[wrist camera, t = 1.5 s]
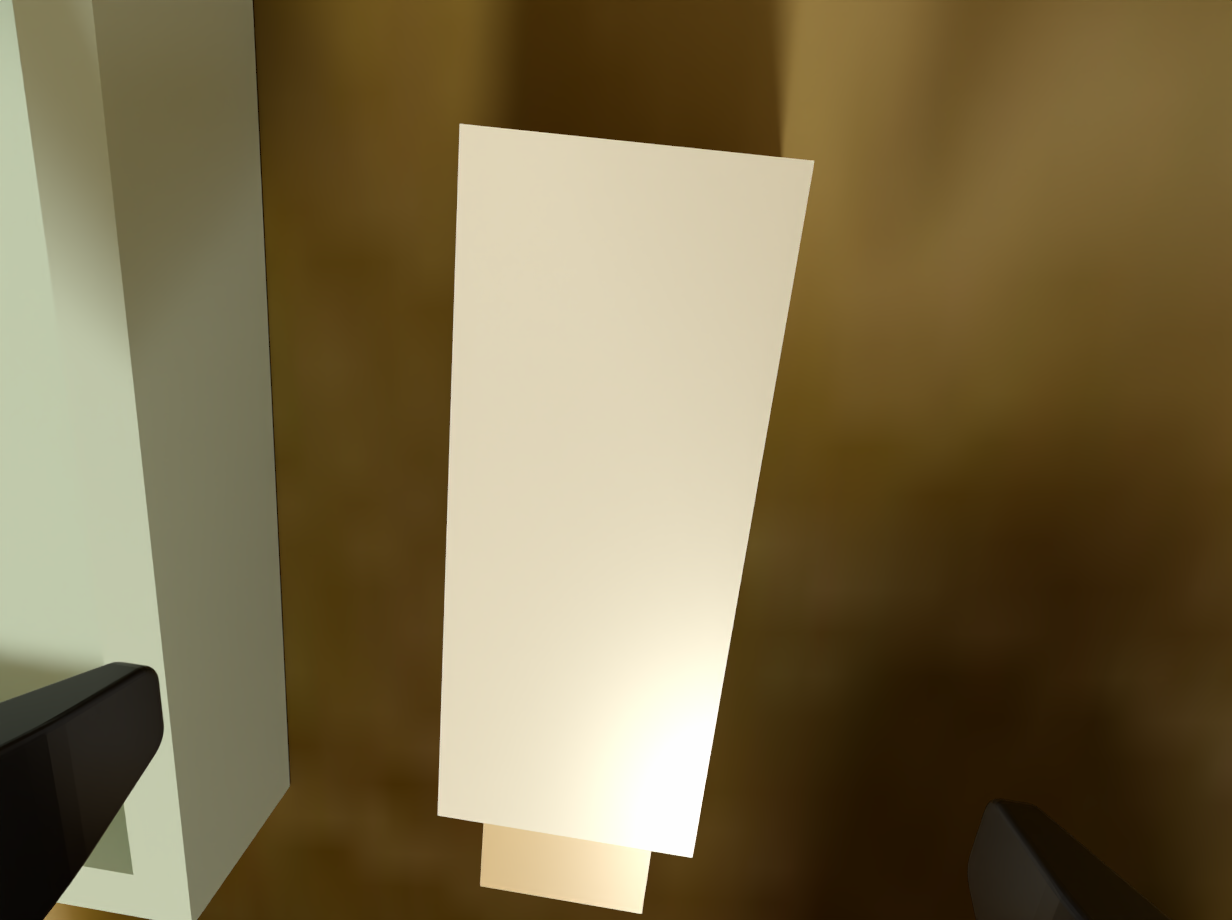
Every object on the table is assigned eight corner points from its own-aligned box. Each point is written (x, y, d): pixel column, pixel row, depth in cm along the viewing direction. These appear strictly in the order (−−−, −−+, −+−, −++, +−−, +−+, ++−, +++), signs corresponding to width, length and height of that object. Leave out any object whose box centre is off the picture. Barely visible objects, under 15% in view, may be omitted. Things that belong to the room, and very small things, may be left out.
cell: (780, 171, 12) (814, 160, 9) (682, 777, 16) (675, 952, 12) (532, 144, 13) (460, 123, 9) (495, 747, 17) (434, 910, 13)
